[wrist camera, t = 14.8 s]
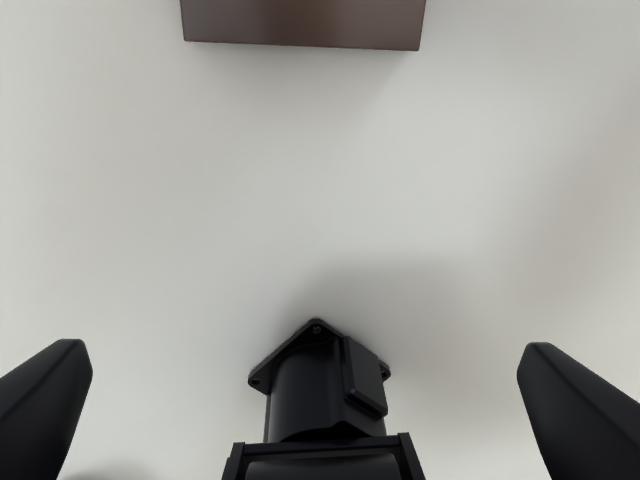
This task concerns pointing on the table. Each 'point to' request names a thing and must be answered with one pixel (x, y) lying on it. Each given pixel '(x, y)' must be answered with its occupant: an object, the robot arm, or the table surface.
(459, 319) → the table surface
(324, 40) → the switch bracket
